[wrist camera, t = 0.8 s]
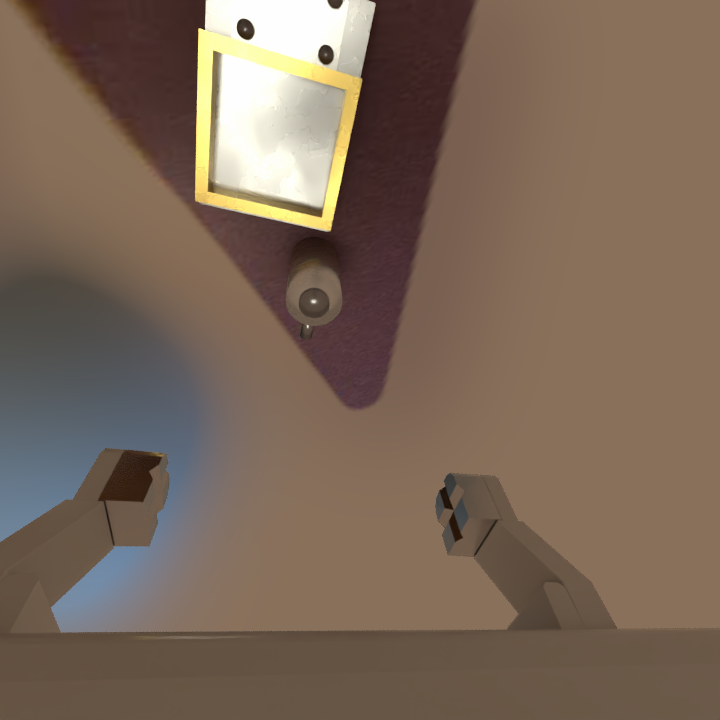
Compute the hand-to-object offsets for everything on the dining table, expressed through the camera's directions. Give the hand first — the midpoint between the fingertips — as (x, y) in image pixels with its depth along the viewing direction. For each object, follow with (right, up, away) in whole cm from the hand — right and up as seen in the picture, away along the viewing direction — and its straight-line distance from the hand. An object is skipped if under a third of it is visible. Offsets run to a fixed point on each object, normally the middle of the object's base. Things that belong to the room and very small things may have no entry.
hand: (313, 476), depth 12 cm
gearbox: (-5, +28, +24) cm, 37 cm away
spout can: (-4, +14, +34) cm, 37 cm away
